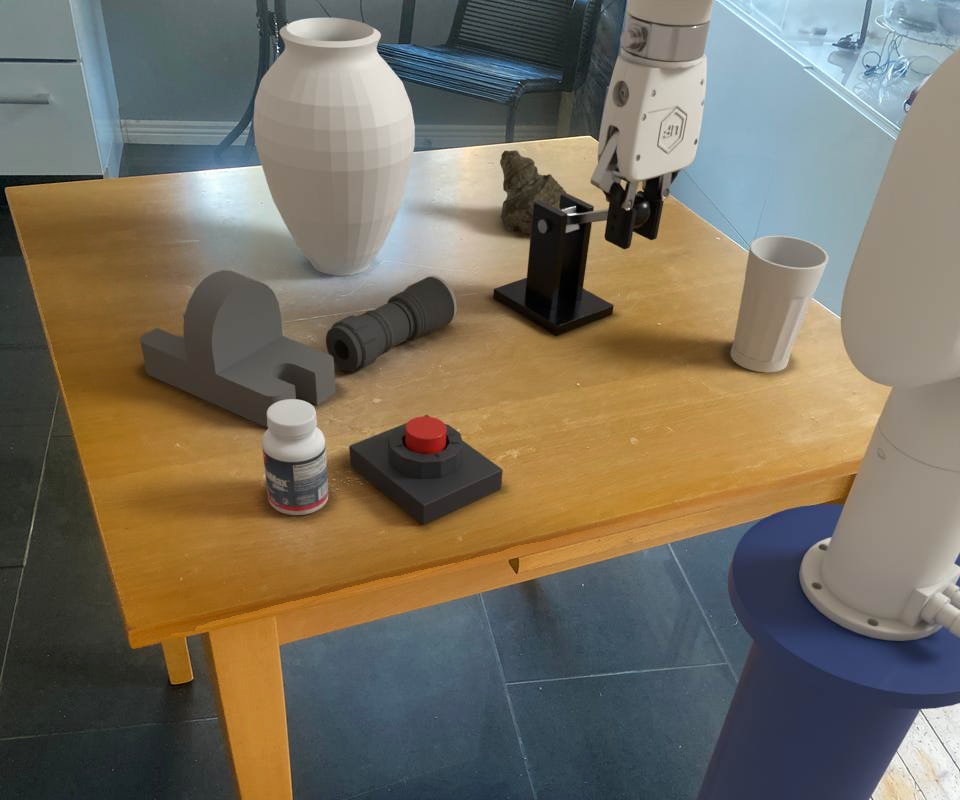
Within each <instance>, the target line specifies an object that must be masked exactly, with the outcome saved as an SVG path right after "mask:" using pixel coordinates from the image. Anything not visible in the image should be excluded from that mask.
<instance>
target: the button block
mask: <svg viewBox="0 0 960 800" xmlns="http://www.w3.org/2000/svg"><path fill="white" fill-rule="evenodd" d="M424 416H427V417H430V416H429V415H428V414H426V415H424ZM407 423H408V422H406V423H403V424H400V425H398V426H395V427H393V428H391V429H388V430H385V431H382V432H381V433H378V434H375V435H373V436H370V437H367V438H365V439H363V440H360V441H358V442H355V443H353V444H351V445H349V446H348V449H349V466H350V467H351V468H353V470H355V471H356V472H357V473H358V474H360V475H361V476H362V477H364V478H365V480H367V481H368V482H370V483H371V484H372V485H373V486H374V487H376V488H377V489H378V490H379V491H381V492H382V493H383V494H384V495H385V496H387V497H388V498H389V499H390V500H391V501H392V502H394V503H395V505H397V506H399V507H400V508H401V509H403V511H405V512H406V513H407V514H408V515H410V516H411V517H412V518H414V519H415V520H416V522H418V523H419V524H421V526H426V525H428V524H429V523H432V522H434V521H436V520H438V519H441V518H442V517H445V516H446V515H447V516H448V514H451V513H454V512H455V511H457V510H460V509H462V508H464V507H467V506H468V505H470V504H472V503H474V502H476V501H479V500H481V499H483V498H485V497H487V496H489V495H492V494H494V493H496V492H498V491H500V490H501V489H502V484H503V483H502V481H503V471H504V469H503V468H501V467H500V466H498V464H496V463H495V462H493V461H492V460H490V459H489V458H487V457H486V456H485V455H483V454H482V453H481V452H479V451H478V450H477V449H475V448H474V447H473V446H471V445H470V444H468V443H467V442H466V441H464V440H463V438H462V435H461V433H460V431H458V430H457V429H455V428H454V427H453V426H451V425H450V424H447V423H444V424H445V425H446V446H445V448H444V449H443V450H442V451H440V452H438V453H436V454H420V453H416V452H412V451H410V450H409V449H408V448H407V447H406V444H405V427H406V424H407Z"/></svg>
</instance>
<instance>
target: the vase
mask: <svg viewBox="0 0 960 800" xmlns="http://www.w3.org/2000/svg"><path fill="white" fill-rule="evenodd" d="M279 35H280V37H281V39H282V41H283V43H284V46H285V47H284V50H283V51H282V52H281V54H280V55H278V57H277V58H276V60H275V61H274V62H273V64H272V65H271V66H270V67H269V69H268V70H267V71H266V73H264V75H263V77H262V78H261V80H260V82H259V86H258V89H257V92H256V96H255V99H254V107H253V136H254V146H255V149H256V152H257V155H258V158H259V161H260V164H261V167H262V171H263V175H264V177H265V180H266V184H267V187H268V191H269V193H270V196H271V199H272V201H273V203H274V205H275V207H276V209H277V211H278V213H279V215H280V217H281V220H282V221H283V223H284V224H285V226H286V228H287V230H288V231H289V233H290V235H291V237H292V239H293V241H294V242H295V244H296V245H297V247H298V249H299V250H300V251H301V253H302V254H303V255H304V257H305V258H306V259H307V260H309V262H310V263H311V265H312V267H313V268H314V269H315V270H316V271H317V272H319V273H322V274H325V275H329V276H337V277H348V276H354V275H358V274H361V273H364V272H365V271H367V270H368V269H369V268H370V266H371V263H372V262H373V261H374V259H375V258H376V257H377V255H378V254H379V253H380V251H381V249H382V248H383V246H384V244H385V243H386V241H387V238H388V237H389V234H390V232H391V230H392V228H393V226H394V223H395V221H396V218H397V216H398V213H399V211H400V209H401V206H402V203H403V200H404V197H405V192H406V188H407V182H408V179H409V173H410V169H411V165H412V161H413V155H414V150H415V146H416V145H415V144H416V143H415V142H416V127H415V126H416V125H415V119H414V114H413V106H412V103H411V101H410V98H409V95H408V93H407V90H406V88H405V85H404V83H403V81H402V79H401V78H399V76H398V75H397V74H396V73H395V71H394V70H393V69H392V67H391V66H390V65H389V64H388V62H387V61H386V60H384V58H383V57H382V56H381V55H380V54H379V51H378V43H379V42H380V40H381V37H382V34H381V32H380V31H379V30H378V29H376V28H374V27H373V26H371V25H369V24H367V23H365V22H363V21H358V20H354V19H350V18H349V19H348V18H339V17H310V18H302V19H298V20H295V21H292V22H290V23H287V24H286V25H284V26H282V27H281V28H280V29H279Z"/></svg>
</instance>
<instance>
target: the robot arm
mask: <svg viewBox="0 0 960 800" xmlns="http://www.w3.org/2000/svg"><path fill="white" fill-rule="evenodd" d="M714 2H715V0H627V3H626V11H625V17H624V23H623V30H622V31H623V32H622V33H621V35H620V38H619V41H620V45H621V46H620V52H619V53H620V54H619V55H617V58H616V61H615V65H614V68H613V71H612V74H611V79H610V82H609V86H608V90H607V94H606V99H605V103H604V109H603V114H602V118H601V124H600V130H599V137H598V143H597V164H596V166H595V168H594V171H593V172H592V175H591V177H590V184H591V185H592V186H594V187H596V188H597V189H599V190H601V192H602V193H603V194H604V196H605V201H606V202H607V203H608V208H607V209H608V216H607V220H606V224H605V228H604V229H605V230H604V240H605V241H607V242H609V243H610V244H611V245H615V246H616V247H618V248H620V249H622V250H627V249H629V248H631V245H632V240H633V233H635V234H637V235H639V236H641V237H642V238H645V239H647V240H649V241H654V240H656V239H657V238H658V233H659V228H660V223H661V217H662V212H663V207H664V202H665V201H664V200H666V199H667V198H668V197H669V195H670V192H671V185H672V184H673V182H674V181H675V180H676V178H677V177H678V174H679V173H680V172H681V171H682V170H683V169H686V168H687V167H689V166H690V165H691V164H692V163H693V162H694V160H695V158H696V155H697V150H698V146H699V140H700V135H701V129H702V122H703V115H704V109H705V100H706V93H707V92H706V91H707V90H706V89H707V76H708V75H707V73H708V68H707V67H708V60H707V57H708V56H707V55H706V54H705V49H706V45H707V38H708V34H709V28H710V23H711V19H712V13H713V6H714ZM622 180H623V182H626V183H625V188H624V187H623V186H622V184H621V183H622ZM639 183H641V189H642V190H638V186H639ZM637 190H638V191H637ZM636 194H641V195H644V196H645V197H646V198H647V199H648V200H649V202H650V205H651V214H650V217H649V219H648V221H647V222H646V223H645V224H644V225H642V226H640V227H637V228H634V223H635V217H636V209H634V208H632V206H633V204H634V199H635V195H636ZM842 294H843V295H842V300H841V307H840V329H841V331H840V333H841V338H842V342H843V346H844V350H845V351H846V352H845V353H846V355H847V356H848V358H849V361H850V362H851V363H852V365H853V366H854V368H855V369H856V370H857V371H858V372H859V373H860V374H862V375H863V377H865V378H866V379H868V380H869V381H871V382H873V383H876V384H879V385H882V386H885V387H891V390H890V392H889V393H888V396H887V397H886V398H887V399H886V401H885V402H884V406H883V408H882V410H881V413H880V415H879V417H878V420H877V421H876V424H875V426H874V429H873V432H872V433H871V436H870V440H869V442H868V444H867V446H866V449H865V452H864V454H863V457H862V460H861V463H860V465H859V468H858V470H857V473H856V475H855V478H854V480H853V482H852V485H851V487H850V490H849V492H848V494H847V497H846V500H845V503H844V504H843V505H844V507H843V510H842V513H841V515H840V518H839V520H838V523H837V525H836V528H835V530H834V533H833V535H832V537H830V538H827V539H824V540H822V541H820V542H818V543H816V544H815V545H813V546H812V547H811V548H810V549H809V550H808V551H807V553H806V554H805V556H804V558H803V561H802V563H801V566H800V571H799V578H800V584H801V586H802V589H803V591H804V593H805V595H806V596H807V598H808V599H809V601H810V602H811V603H812V604H813V605H814V606H815V607H816V608H817V609H818V610H819V611H820V612H821V613H822V614H824V615H825V616H826V617H828V618H829V619H830V620H832V621H833V622H835V623H837V624H839V625H840V626H842V627H844V628H846V629H849V630H851V631H853V632H855V633H858V634H861V635H865V636H868V637H871V638H876V639H882V640H890V641H907V640H916V639H920V638H924V637H927V636H929V635H931V634H933V633H935V632H937V631H938V630H939V629H940V628H941V627H942V626H943V627H945V628H946V629H948V630H949V632H951V633H952V634H954V635H956V636H957V637H959V638H960V591H959V590H960V587H958V586H957V585H955V584H956V582H957V580H958V579H959V577H960V567H959V566H958V565H956V564H954V563H955V561H956V559H957V557H958V555H959V553H960V47H959V48H957V49H956V50H955V51H953V52H952V53H951V54H950V55H949V56H948V57H947V58H945V59H944V60H943V61H942V62H941V63H940V64H939V65H938V67H937V68H936V69H935V70H933V72H932V73H931V74H930V76H929V77H928V78H927V80H926V81H925V82H924V84H923V86H922V87H921V88H920V89H919V91H918V92H917V94H916V96H915V97H914V100H912V103H911V104H910V106H909V108H908V110H907V113H906V115H905V116H904V119H903V122H902V125H901V126H900V129H899V131H898V134H897V137H896V139H895V142H894V145H893V147H892V150H891V154H890V156H889V159H888V162H887V164H886V167H885V170H884V173H883V176H882V178H881V181H880V183H879V186H878V189H877V191H876V195H875V198H874V200H873V203H872V206H871V209H870V211H869V215H868V217H867V219H866V223H865V225H864V228H863V231H862V234H861V237H860V239H859V242H858V245H857V248H856V251H855V253H854V256H853V258H852V262H851V265H850V268H849V270H848V275H847V278H846V281H845V286H844V290H843V293H842ZM955 607H956V608H955Z"/></svg>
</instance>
